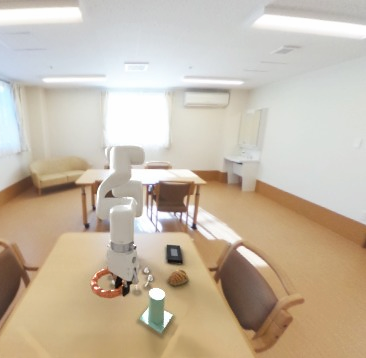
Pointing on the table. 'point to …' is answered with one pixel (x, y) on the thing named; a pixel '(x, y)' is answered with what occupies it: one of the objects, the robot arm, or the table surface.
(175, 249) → the vhs tape
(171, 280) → the pastry
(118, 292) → the ring
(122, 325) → the table surface
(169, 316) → the mint knob on plate
